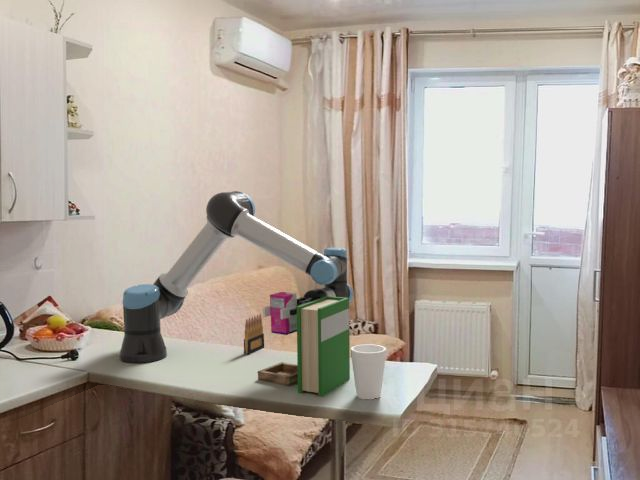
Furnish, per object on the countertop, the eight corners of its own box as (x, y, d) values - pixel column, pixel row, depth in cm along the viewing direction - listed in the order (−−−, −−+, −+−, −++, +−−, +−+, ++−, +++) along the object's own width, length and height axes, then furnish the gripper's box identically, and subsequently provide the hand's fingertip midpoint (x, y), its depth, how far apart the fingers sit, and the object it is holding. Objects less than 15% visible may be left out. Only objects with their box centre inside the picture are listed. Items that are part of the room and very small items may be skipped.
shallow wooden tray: (258, 379, 196) (257, 371, 196) (281, 370, 205) (281, 362, 205) (289, 386, 190) (288, 377, 189) (312, 376, 199) (312, 367, 199)
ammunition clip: (248, 355, 224) (247, 319, 223) (243, 354, 224) (242, 319, 223) (264, 347, 233) (263, 313, 232) (259, 347, 234) (259, 313, 233)
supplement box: (282, 329, 200) (282, 291, 199) (298, 331, 197) (297, 293, 196) (270, 332, 195) (269, 294, 194) (286, 335, 192) (285, 296, 191)
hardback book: (321, 396, 180) (320, 308, 178) (297, 392, 183) (296, 306, 181) (349, 379, 196) (349, 298, 193) (327, 375, 199) (326, 296, 197)
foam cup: (356, 389, 186) (355, 343, 185) (388, 391, 183) (388, 345, 182) (347, 400, 177) (347, 351, 176) (382, 403, 174) (381, 354, 173)
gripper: (344, 315, 205) (299, 330, 186) (295, 309, 216) (248, 322, 197) (343, 291, 205) (298, 303, 186) (294, 286, 215) (247, 297, 196)
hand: (272, 313), depth 191 cm, fingers closed on supplement box, 6 cm apart
